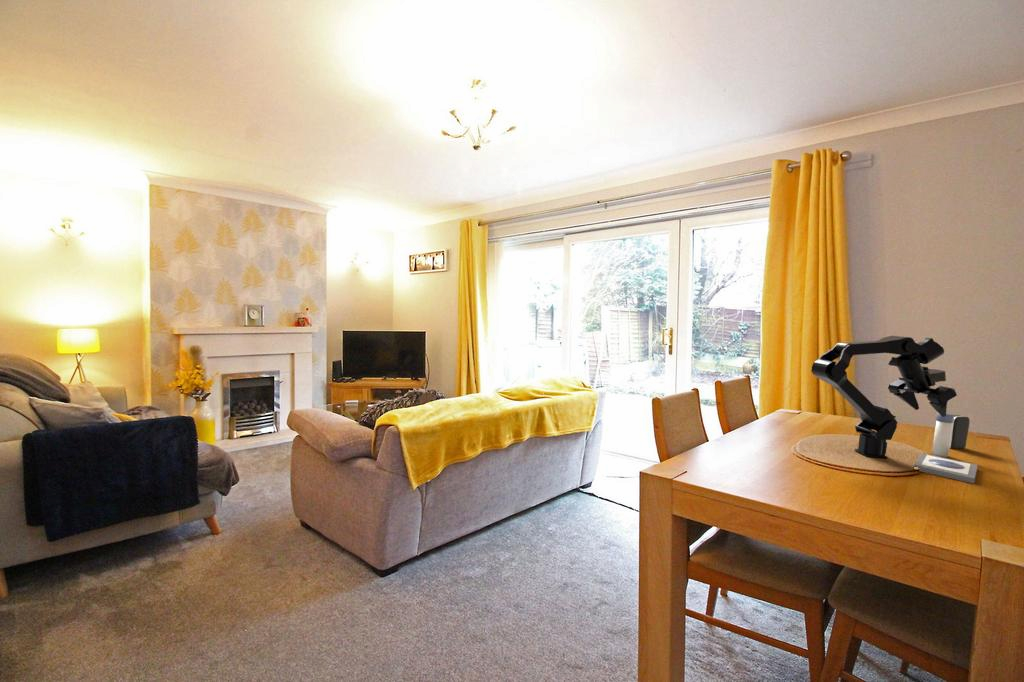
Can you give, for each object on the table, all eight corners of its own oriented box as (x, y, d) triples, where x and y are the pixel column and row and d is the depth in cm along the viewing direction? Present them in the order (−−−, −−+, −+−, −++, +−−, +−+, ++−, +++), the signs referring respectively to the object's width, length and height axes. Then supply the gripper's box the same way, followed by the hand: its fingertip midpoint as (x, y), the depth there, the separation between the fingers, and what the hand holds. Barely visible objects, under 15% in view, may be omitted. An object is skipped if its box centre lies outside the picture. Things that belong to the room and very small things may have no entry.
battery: (953, 445, 171) (958, 413, 170) (966, 448, 168) (971, 416, 167) (939, 445, 170) (944, 414, 168) (952, 449, 166) (956, 417, 165)
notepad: (974, 483, 132) (974, 477, 132) (913, 469, 142) (914, 463, 141) (976, 469, 145) (977, 463, 145) (920, 457, 154) (921, 452, 154)
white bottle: (937, 456, 156) (943, 414, 155) (928, 452, 160) (933, 411, 159) (951, 457, 156) (957, 415, 154) (941, 453, 160) (947, 412, 159)
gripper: (962, 363, 144) (981, 407, 146) (907, 355, 162) (925, 394, 164) (930, 381, 144) (950, 425, 145) (879, 371, 162) (897, 410, 164)
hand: (930, 412), depth 155 cm, fingers open, 9 cm apart
